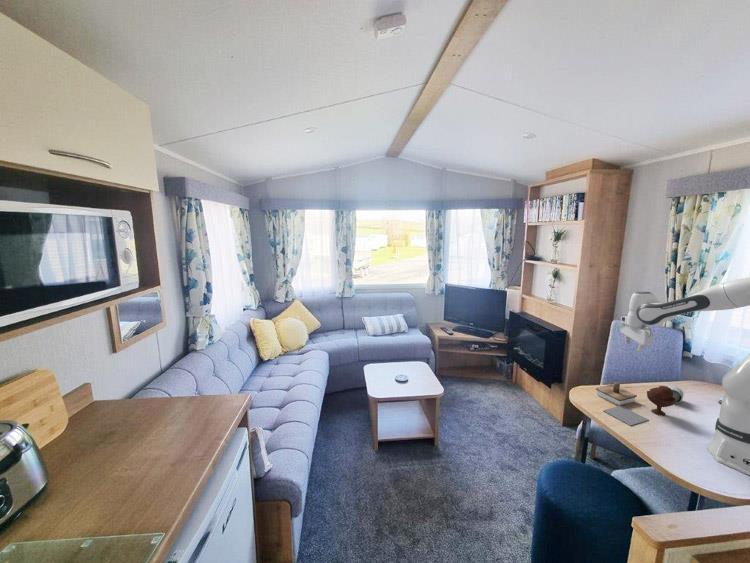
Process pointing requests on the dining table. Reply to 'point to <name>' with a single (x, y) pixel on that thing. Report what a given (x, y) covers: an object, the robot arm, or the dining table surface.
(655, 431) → the dining table surface
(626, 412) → the mat
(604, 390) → the lid
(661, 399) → the ice cream bowl
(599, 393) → the dish
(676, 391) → the ceramic mug
